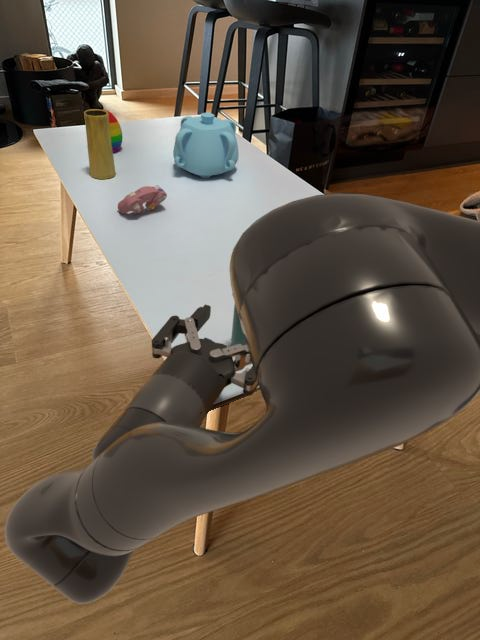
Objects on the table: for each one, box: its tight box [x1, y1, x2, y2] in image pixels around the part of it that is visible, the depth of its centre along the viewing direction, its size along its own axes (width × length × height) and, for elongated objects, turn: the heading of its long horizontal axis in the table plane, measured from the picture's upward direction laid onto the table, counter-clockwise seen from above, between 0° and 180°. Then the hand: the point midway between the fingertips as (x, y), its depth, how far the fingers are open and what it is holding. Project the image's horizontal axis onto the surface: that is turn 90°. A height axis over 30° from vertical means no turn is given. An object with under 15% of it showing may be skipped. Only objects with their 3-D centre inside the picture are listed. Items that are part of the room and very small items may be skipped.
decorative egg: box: [104, 109, 123, 153], centre depth 122 cm, size 8×8×10 cm
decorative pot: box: [172, 112, 240, 179], centre depth 116 cm, size 16×16×14 cm
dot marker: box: [230, 304, 246, 346], centre depth 65 cm, size 3×3×13 cm
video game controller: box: [117, 184, 168, 215], centre depth 98 cm, size 10×5×7 cm, turn 132°
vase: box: [83, 108, 117, 180], centre depth 108 cm, size 6×6×14 cm
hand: (236, 320), depth 62 cm, fingers open, 8 cm apart
